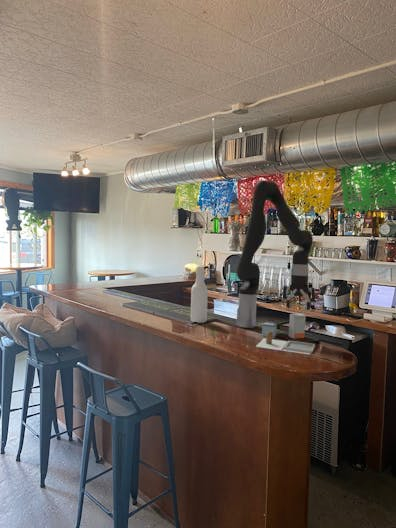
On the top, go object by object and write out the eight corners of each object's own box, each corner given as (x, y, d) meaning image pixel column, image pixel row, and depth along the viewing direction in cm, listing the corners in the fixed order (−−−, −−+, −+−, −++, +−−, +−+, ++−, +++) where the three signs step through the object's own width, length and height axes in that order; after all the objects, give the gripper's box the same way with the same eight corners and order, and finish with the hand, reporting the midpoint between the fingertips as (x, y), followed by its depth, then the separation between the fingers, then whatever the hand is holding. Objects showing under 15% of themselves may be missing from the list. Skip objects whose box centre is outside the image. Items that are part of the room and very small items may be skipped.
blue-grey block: (261, 339, 183) (262, 324, 182) (264, 336, 188) (265, 321, 187) (273, 340, 181) (274, 325, 180) (276, 338, 186) (276, 323, 185)
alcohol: (187, 321, 213) (189, 266, 211) (195, 318, 221) (197, 265, 218) (202, 324, 209) (204, 267, 207) (209, 320, 217) (211, 266, 214)
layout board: (255, 350, 165) (256, 334, 165) (263, 341, 179) (264, 327, 179) (311, 358, 157) (312, 342, 156) (315, 348, 170) (316, 333, 170)
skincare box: (292, 341, 180) (294, 315, 179) (288, 339, 185) (289, 313, 184) (304, 341, 182) (306, 315, 181) (299, 338, 186) (301, 313, 185)
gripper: (316, 274, 182) (315, 309, 183) (285, 272, 187) (284, 306, 188) (315, 275, 175) (313, 312, 176) (282, 273, 180) (281, 309, 181)
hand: (298, 309), depth 182 cm, fingers open, 8 cm apart
